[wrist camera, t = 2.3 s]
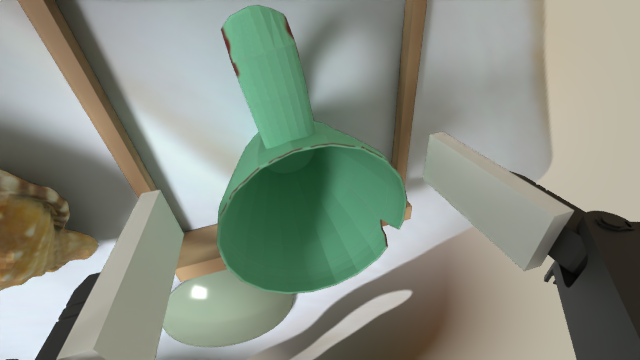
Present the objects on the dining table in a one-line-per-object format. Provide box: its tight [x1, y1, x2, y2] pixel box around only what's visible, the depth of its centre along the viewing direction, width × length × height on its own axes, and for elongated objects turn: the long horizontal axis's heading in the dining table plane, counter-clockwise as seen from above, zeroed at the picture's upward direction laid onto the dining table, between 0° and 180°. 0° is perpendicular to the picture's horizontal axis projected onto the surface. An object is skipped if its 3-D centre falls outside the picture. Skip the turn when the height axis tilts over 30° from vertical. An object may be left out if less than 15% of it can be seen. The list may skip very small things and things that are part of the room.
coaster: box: [163, 269, 293, 347], centre depth 30 cm, size 14×14×1 cm
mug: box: [216, 5, 407, 294], centre depth 16 cm, size 15×10×10 cm
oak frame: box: [18, 0, 427, 282], centre depth 18 cm, size 22×20×4 cm
